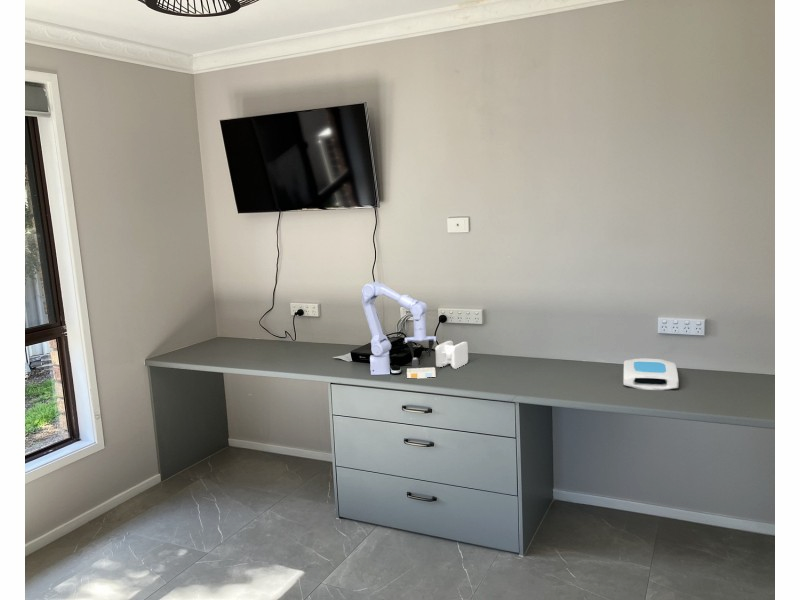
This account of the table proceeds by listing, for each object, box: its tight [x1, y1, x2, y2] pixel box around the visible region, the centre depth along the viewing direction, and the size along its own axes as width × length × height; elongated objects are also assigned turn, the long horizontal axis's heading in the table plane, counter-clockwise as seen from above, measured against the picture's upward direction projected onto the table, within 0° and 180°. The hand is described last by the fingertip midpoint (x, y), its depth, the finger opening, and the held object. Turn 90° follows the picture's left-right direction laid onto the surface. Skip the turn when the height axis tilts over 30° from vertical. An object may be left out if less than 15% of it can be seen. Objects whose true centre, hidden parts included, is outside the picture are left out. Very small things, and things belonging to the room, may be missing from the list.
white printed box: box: [406, 367, 437, 379], centre depth 295 cm, size 13×7×3 cm, turn 89°
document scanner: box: [622, 357, 680, 391], centre depth 271 cm, size 21×28×6 cm
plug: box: [411, 357, 420, 368], centre depth 303 cm, size 3×3×7 cm
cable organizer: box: [434, 340, 469, 370], centre depth 308 cm, size 15×11×12 cm
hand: (421, 356), depth 293 cm, fingers open, 7 cm apart
